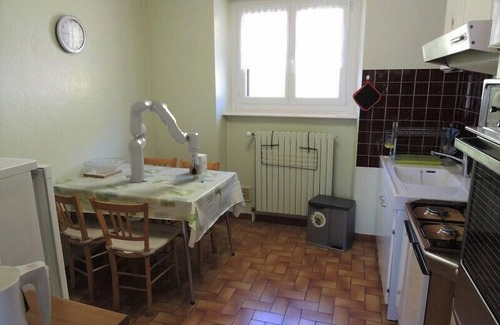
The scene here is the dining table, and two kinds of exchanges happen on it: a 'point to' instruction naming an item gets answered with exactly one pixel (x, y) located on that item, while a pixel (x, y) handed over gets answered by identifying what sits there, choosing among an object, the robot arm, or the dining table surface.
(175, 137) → the robot arm
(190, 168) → the collar
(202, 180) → the post board
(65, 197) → the dining table surface
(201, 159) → the supplement box
